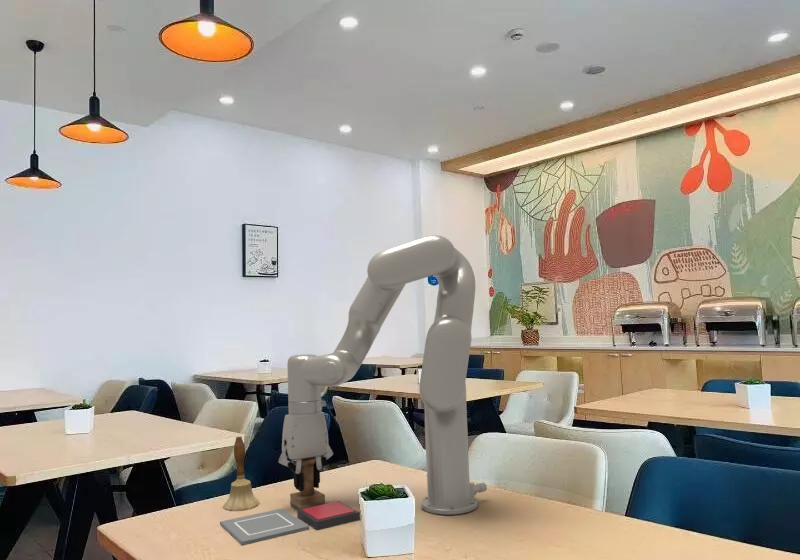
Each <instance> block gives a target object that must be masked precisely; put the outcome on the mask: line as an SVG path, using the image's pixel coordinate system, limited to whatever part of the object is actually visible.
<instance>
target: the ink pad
mask: <svg viewBox="0 0 800 560" xmlns="http://www.w3.org/2000/svg"><path fill="white" fill-rule="evenodd" d="M296 511H297V512H296V513H297V518H298V519H299V520H301V521H302V522H304V523H305V524H307V525H308V526H309V527H312V528H313V529H315V530H316V531H318V530H322V529H327V528H331V527H335V526H339V525H343V524H348V523H352V522H356V521H360V520H361V514H360V513H361V512H360V511H359V510H357V509H355V508H353V507H351V506H349V505H347V504H345V503H343V502H341V501H339V500H338V501H333V502H328V503H325V504H323V505H318V506H314V507H309V508H304V509H300V510H296Z"/></svg>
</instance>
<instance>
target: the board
mask: <svg viewBox="0 0 800 560" xmlns="http://www.w3.org/2000/svg"><path fill="white" fill-rule="evenodd" d="M219 525H220V526H221V527H222V528H223V529H224V530H225V531H226V532H227V533H229V535H230V536H232V537H233V539H235V540H236V541H237V542H238V543H239V544H240V545H241V546H244V545H248V544H252V543H253V544H254V543H257V542H261V541H265V540H269V539H274V538H278V537H283V536H286V535H290V534H294V533H299V532H302V531H308V530H310V525H308V524H307V523H305V522H304V521H302V520H301V519H299V518H298V517H296V516H295V515H293V514H291V513H290V512H289V511H287V510H285V509H284V508H278V509H277V508H276V509H273V510H268V511H264V512H259V513H254V514H250V515H245V516H240V517H235V518H231V519H226V520H220V521H219Z"/></svg>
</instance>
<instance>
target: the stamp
mask: <svg viewBox="0 0 800 560" xmlns="http://www.w3.org/2000/svg"><path fill="white" fill-rule="evenodd" d="M315 463H316V460H315V458H313V457H312V458H306V459H302V462H301V473H303V486H304V490H303V491H298V492H292V493H290V494H289V496H290V497H289V499H290V507H292V508H293V509H295V510H296V511H297V510H300V509H304V508H309V507H314V506H318V505H323V504H326V495H325V493H323V492H321V491H319V490H318V489H316V488H315V487H314V464H315Z"/></svg>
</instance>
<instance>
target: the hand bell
mask: <svg viewBox="0 0 800 560" xmlns="http://www.w3.org/2000/svg"><path fill="white" fill-rule="evenodd" d="M233 445H234V446H233V456H234V460H235V462H236V479H235V480H234V481H232V482H231V484H230V492H229V496H228V498H227V500H226V501H225V502H224V504H223V506H222V508H223V509H224V510H226V511H229V512H240V511H247V510H251V509H254V508H256V507H257V506H259V505H260V503H261V502H260V501H259V498H257V497H256V495H255V494H254V492H253V489H252V483H251V480H249V479H246V478H245V477H246V476H245V469H244V467H245V466H244V462H245V458H246V447H245V443H244V441H243V437H242V436H236V437H235V441H234V444H233Z"/></svg>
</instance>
